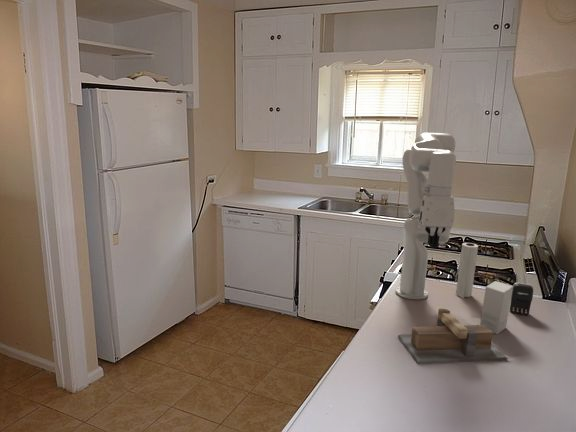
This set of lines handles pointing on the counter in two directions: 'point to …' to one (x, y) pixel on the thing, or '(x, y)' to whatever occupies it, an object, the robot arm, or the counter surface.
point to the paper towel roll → (466, 269)
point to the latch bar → (452, 323)
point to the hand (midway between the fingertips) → (432, 246)
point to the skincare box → (496, 306)
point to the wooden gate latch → (451, 344)
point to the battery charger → (521, 298)
